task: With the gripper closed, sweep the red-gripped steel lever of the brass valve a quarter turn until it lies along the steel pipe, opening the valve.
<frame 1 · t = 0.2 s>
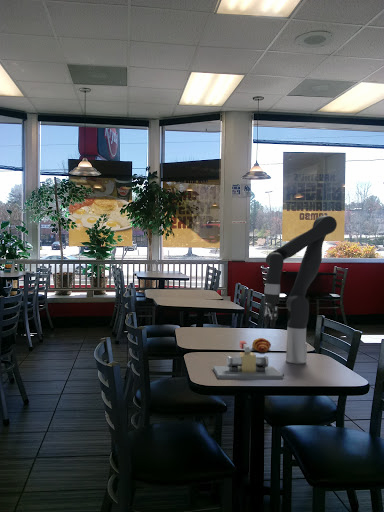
hand: (269, 325, 226), 18 cm above the table, tool pointing down, fingers open, 8 cm apart
slate board: (246, 374, 202), on the table
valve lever: (245, 347, 208), point 11 cm above the table, hinge at 0.0°
valve pipe: (247, 362, 202), on the slate board, point 5 cm above the table
croissant: (261, 350, 255), on the table
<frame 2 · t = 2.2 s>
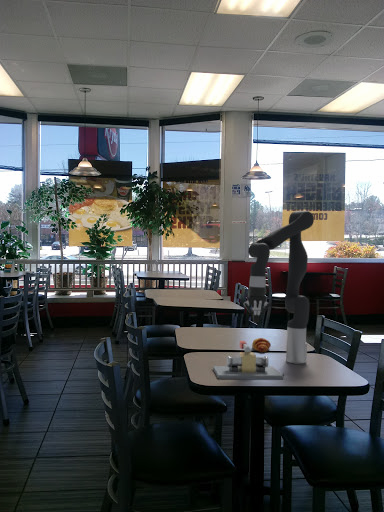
hand: (255, 322, 214), 21 cm above the table, tool pointing down, fingers closed
nothing on the table moved.
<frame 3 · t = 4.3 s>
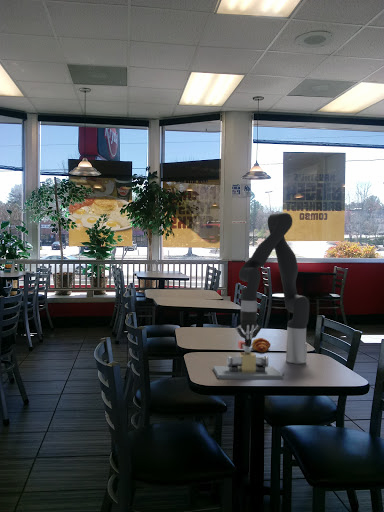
hand: (247, 346, 213), 10 cm above the table, tool pointing down, fingers closed
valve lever: (244, 347, 208), point 11 cm above the table, hinge at 3.3°, touching gripper
everything else where it was.
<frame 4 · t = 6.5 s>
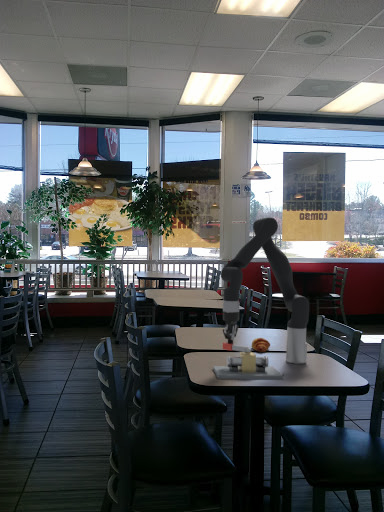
hand: (230, 347, 211), 10 cm above the table, tool pointing down, fingers closed
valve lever: (236, 347, 205), point 11 cm above the table, hinge at 49.6°, touching gripper
everything else where it was.
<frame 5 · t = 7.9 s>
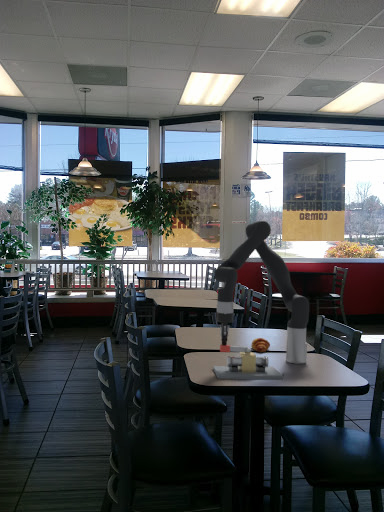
hand: (224, 349, 207), 10 cm above the table, tool pointing down, fingers closed
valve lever: (235, 348, 203), point 11 cm above the table, hinge at 76.6°, touching gripper
everything else where it was.
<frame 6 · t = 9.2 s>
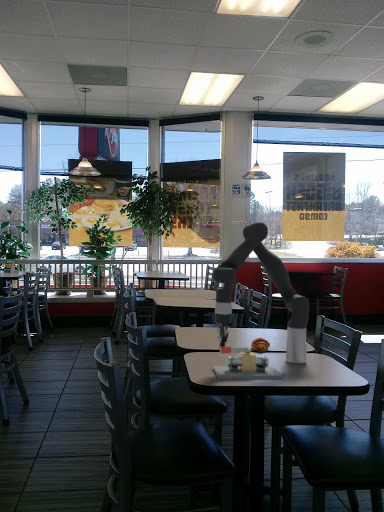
hand: (222, 350, 205), 9 cm above the table, tool pointing down, fingers closed
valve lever: (235, 349, 202), point 11 cm above the table, hinge at 90.8°
everything else where it was.
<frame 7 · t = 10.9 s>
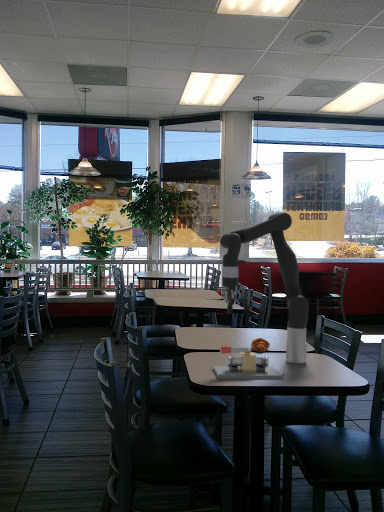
hand: (229, 313, 213), 25 cm above the table, tool pointing down, fingers closed
nothing on the table moved.
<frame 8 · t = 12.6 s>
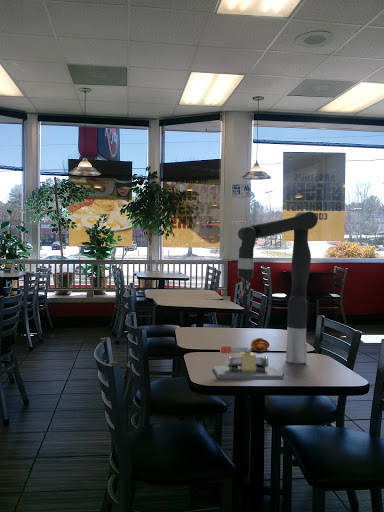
hand: (244, 303, 221), 29 cm above the table, tool pointing down, fingers closed
nothing on the table moved.
at the end: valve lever at +91° (first picture: +0°); croissant moved 1.0 cm from its start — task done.
